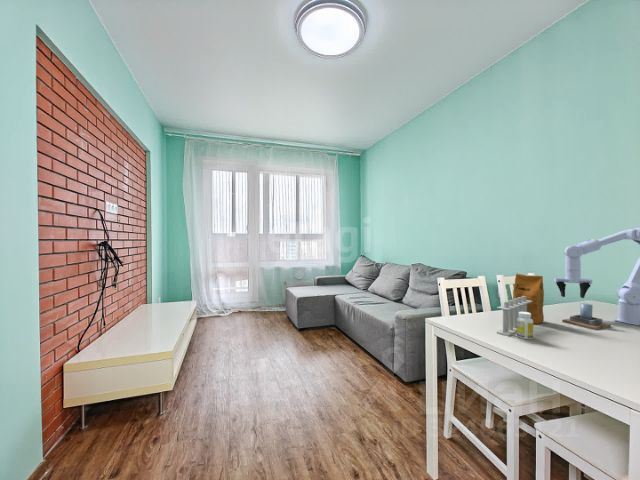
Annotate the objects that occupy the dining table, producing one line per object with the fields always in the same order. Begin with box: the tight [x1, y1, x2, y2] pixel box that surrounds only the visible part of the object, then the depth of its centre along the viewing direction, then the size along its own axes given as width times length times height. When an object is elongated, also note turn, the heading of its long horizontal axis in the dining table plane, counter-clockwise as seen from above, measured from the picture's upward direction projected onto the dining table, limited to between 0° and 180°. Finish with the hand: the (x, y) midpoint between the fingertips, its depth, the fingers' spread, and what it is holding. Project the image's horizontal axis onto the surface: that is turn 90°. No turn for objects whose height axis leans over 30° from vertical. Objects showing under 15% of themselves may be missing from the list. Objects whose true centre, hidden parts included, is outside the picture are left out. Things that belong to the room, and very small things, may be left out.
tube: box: [579, 302, 593, 320], centre depth 127 cm, size 4×4×8 cm
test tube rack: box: [496, 296, 533, 337], centre depth 121 cm, size 25×4×13 cm, turn 125°
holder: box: [561, 313, 612, 331], centre depth 127 cm, size 12×12×3 cm
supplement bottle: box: [516, 312, 534, 340], centre depth 112 cm, size 5×5×10 cm
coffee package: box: [512, 272, 545, 325], centre depth 133 cm, size 10×12×22 cm
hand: (572, 297), depth 140 cm, fingers open, 7 cm apart
